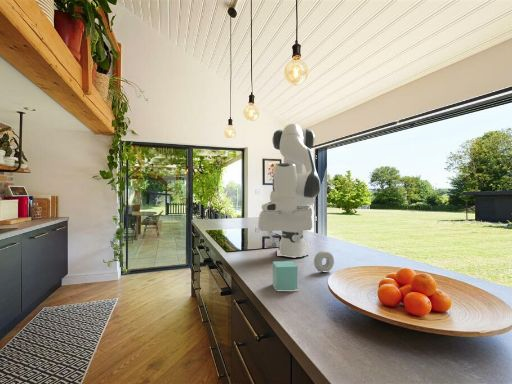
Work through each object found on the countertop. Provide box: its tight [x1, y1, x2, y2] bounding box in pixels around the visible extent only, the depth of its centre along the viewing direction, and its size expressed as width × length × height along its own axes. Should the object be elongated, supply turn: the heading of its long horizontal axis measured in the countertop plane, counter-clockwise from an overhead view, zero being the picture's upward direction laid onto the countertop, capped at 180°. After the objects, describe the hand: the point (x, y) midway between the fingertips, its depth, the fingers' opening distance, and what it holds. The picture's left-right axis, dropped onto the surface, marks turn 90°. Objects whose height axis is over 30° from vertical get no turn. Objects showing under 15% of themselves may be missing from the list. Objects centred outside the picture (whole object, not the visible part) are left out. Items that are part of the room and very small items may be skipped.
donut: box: [313, 249, 335, 273], centre depth 116 cm, size 10×3×10 cm, turn 111°
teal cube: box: [272, 260, 298, 291], centre depth 98 cm, size 8×8×9 cm
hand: (285, 242), depth 97 cm, fingers open, 8 cm apart
